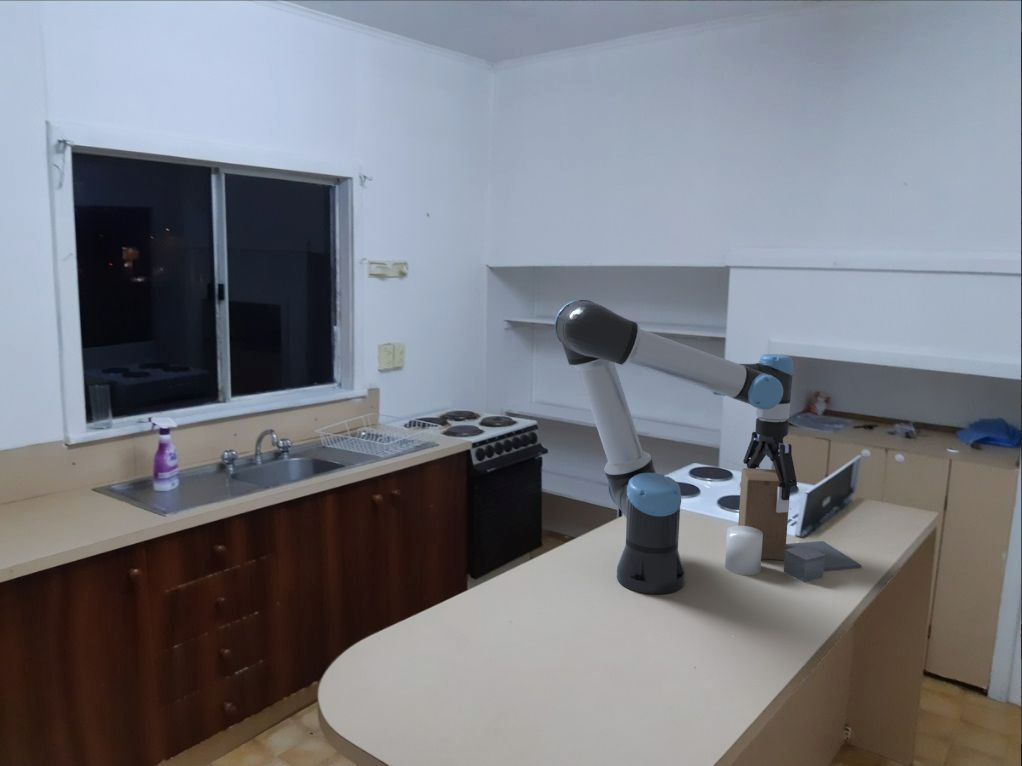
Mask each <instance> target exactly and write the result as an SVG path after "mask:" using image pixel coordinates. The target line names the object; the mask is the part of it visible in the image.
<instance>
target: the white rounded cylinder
mask: <svg viewBox="0 0 1022 766" xmlns="http://www.w3.org/2000/svg"><path fill="white" fill-rule="evenodd" d="M762 541H763V533H762V532H761V531H760V530H758V529H756V528H753V527H748V526H738V525H733V526H729V527H728V528H727V530H726V543H725V544H726V545H725V560H724V561H725V563H724V567H725V569H726V570H727V571H729V572H731V573H734V574H735V575H736V574H737V575H741V576H755V575H758V574H759V573H761V570H762V569H761V568H762V567H761V566H762V559H761V555H762Z"/></svg>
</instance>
